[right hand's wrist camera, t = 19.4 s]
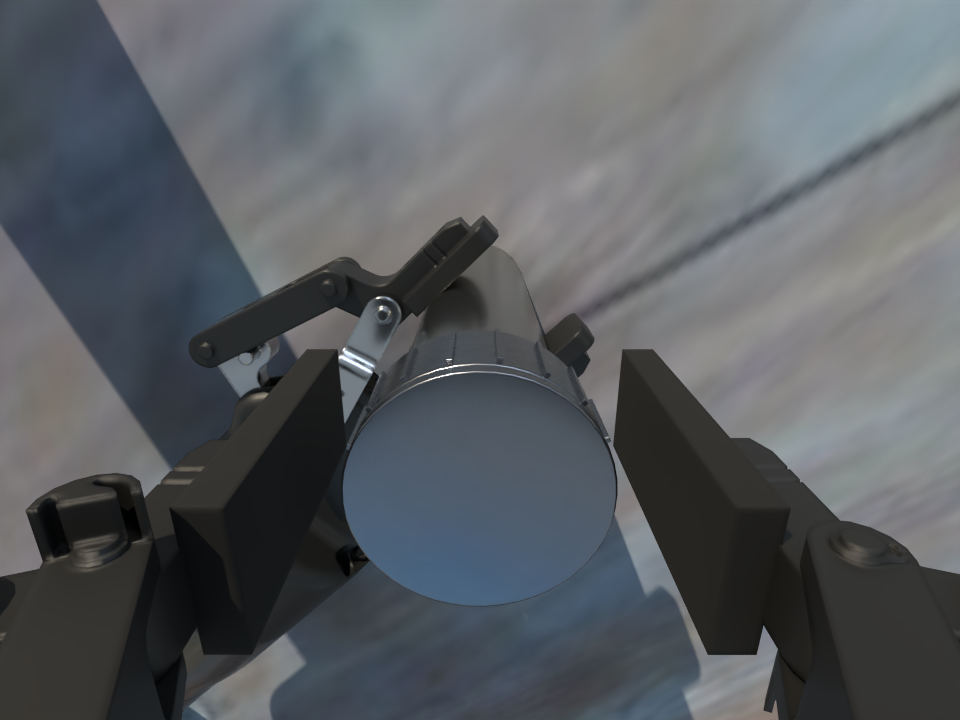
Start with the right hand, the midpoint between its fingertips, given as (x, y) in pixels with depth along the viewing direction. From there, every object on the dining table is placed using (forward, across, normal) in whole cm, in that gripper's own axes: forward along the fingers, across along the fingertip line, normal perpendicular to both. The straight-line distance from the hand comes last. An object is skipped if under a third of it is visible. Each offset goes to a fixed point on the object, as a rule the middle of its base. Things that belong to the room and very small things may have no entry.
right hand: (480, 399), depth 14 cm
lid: (-4, 0, 0) cm, 4 cm away
